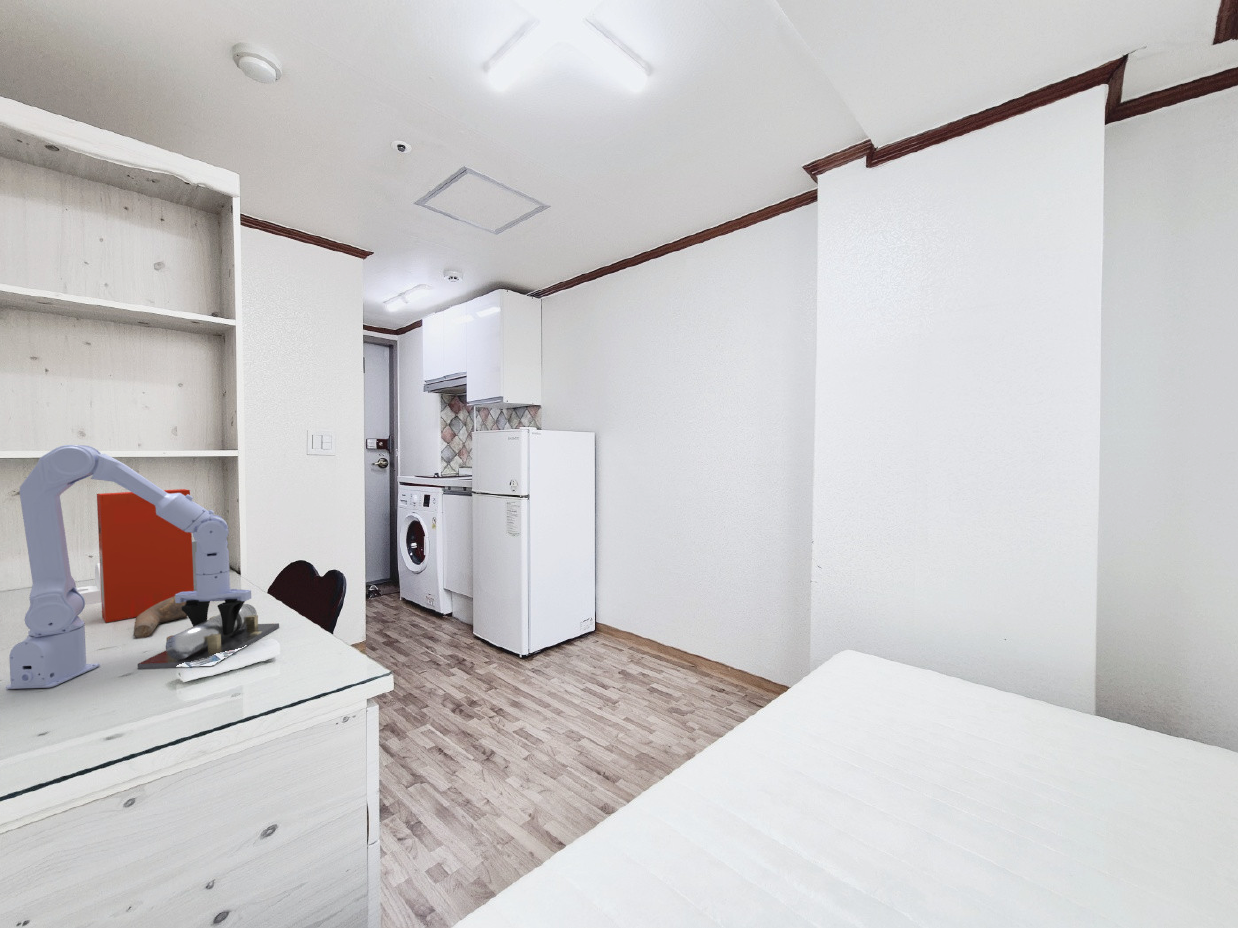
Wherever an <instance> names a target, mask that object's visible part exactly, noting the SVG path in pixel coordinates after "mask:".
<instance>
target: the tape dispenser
mask: <svg viewBox="0 0 1238 928" xmlns="http://www.w3.org/2000/svg"><path fill="white" fill-rule="evenodd" d="M94 568H95V569H94V578H95V579H94V581H95V584H94V585H88V586H87V585H86V586H81V587H76V589H77V591H78V592H79V593H80V594H81V595H82V596H83V597H84V599H85V606H87V605H93V604H98V603H102V601H101V579H100V562H95V566H94Z"/></svg>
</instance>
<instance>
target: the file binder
mask: <svg viewBox="0 0 1238 928" xmlns="http://www.w3.org/2000/svg"><path fill="white" fill-rule="evenodd" d="M163 490H164V491H165V492H167V493H169V494H172V493H181V494H183V495H184V496H186V495H187V494H189V495H190V496H191V490H190V489H185V488H182V489H181V488H179V489H178V488H177V489H163ZM96 505H97V506H96V507H97V512H96V513H97V527H98V528H97V533H98V551H99V552H98V554H99V556H98V557H99V563H100V579H101V601H102V602H101V616H102V620H103V621H104V622H105V623H106V624H107V623H112V622H118V621H122V620H123V621H124V620H128V619H132V618H133V619H135V618H136V617H137V616H139V615H140V614H141V613H142V612H144V611H146V610H147V609H149V608H150V607H152V606H154V605H155V604H157V603H159V602H162V601H164V600H166V599H169V598H171V597H174V596H175V594H177V593H180V592H188V591H194V581H193V556H192V540H193V533H191V532H184V531H183V530H181V529H180V528H178V527H176V526H175V525H173V524H171V523H170V522H168V521H166V520H165V519H163V518H161V517H160V516H158V515H157V514H156V507H155V505H154V504H152V503H150V502H148V501H147V500H145V499H143V498H141V497H140V496H138V495H136V494H134V493H133V492H131V491H128V492H127V491H125V492H124V491H123V492H122V491H121V492H108V493H107V492H105V493H96Z"/></svg>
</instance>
